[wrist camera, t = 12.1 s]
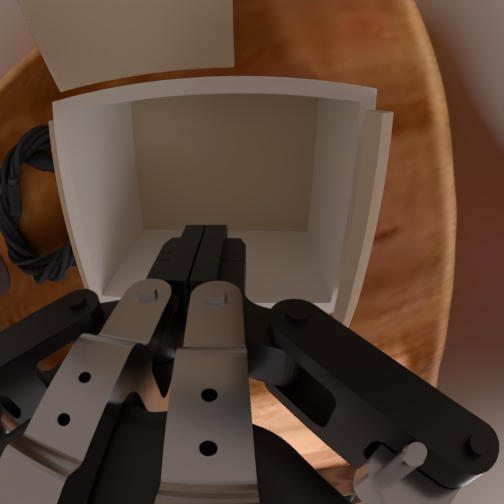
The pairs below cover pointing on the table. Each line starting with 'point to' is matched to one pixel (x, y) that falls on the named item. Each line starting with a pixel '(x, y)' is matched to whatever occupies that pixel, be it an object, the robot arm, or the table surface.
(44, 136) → the cable
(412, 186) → the table surface
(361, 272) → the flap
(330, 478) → the display tray
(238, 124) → the carton
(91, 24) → the side flap
